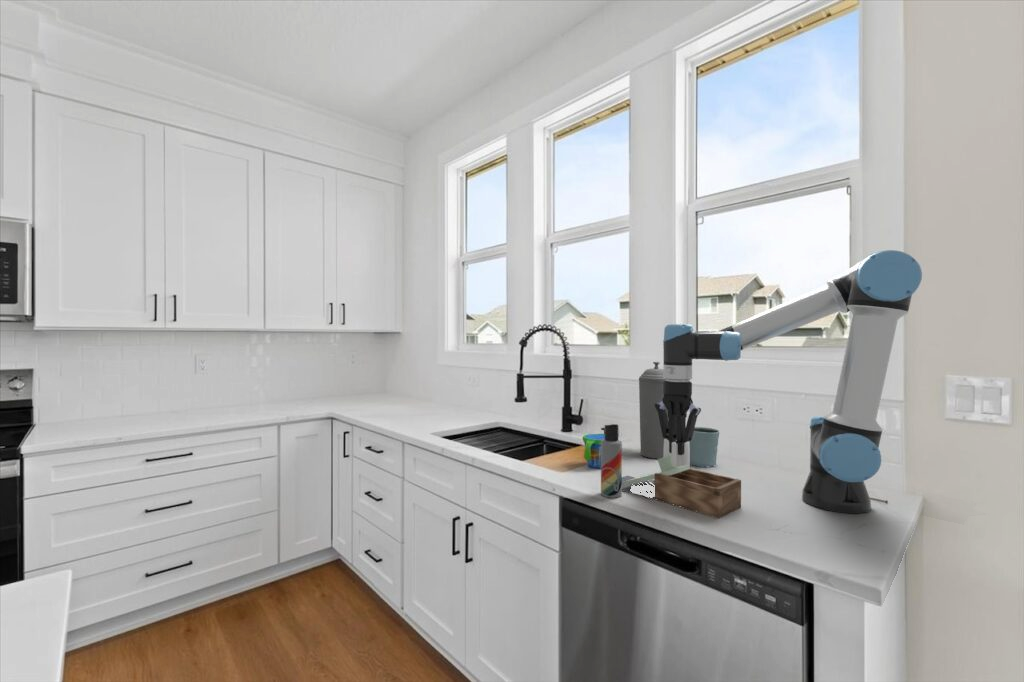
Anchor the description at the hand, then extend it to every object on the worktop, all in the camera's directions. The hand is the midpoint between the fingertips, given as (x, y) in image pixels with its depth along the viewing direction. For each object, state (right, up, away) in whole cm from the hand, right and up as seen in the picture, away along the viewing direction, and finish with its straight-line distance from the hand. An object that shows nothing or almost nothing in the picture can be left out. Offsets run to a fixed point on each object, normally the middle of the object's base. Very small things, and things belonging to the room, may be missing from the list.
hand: (676, 465), depth 134 cm
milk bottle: (+6, -9, +17) cm, 20 cm away
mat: (-8, -9, +10) cm, 15 cm away
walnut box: (+4, -9, -4) cm, 11 cm away
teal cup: (+21, -9, +35) cm, 42 cm away
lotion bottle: (-18, -9, +2) cm, 20 cm away
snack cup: (-16, -9, +32) cm, 37 cm away
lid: (-4, -5, +4) cm, 8 cm away
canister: (+8, -9, +46) cm, 48 cm away
